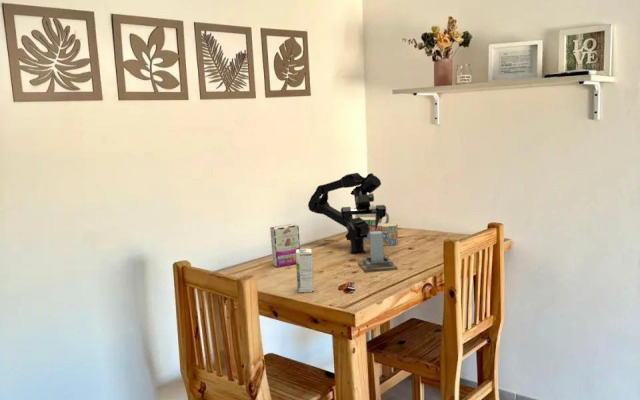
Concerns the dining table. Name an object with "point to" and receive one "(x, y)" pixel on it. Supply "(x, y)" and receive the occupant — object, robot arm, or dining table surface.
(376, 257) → the block
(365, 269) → the jig
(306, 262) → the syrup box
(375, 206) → the teapot
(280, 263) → the candy bar box
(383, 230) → the stack of blocks
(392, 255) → the dining table surface
